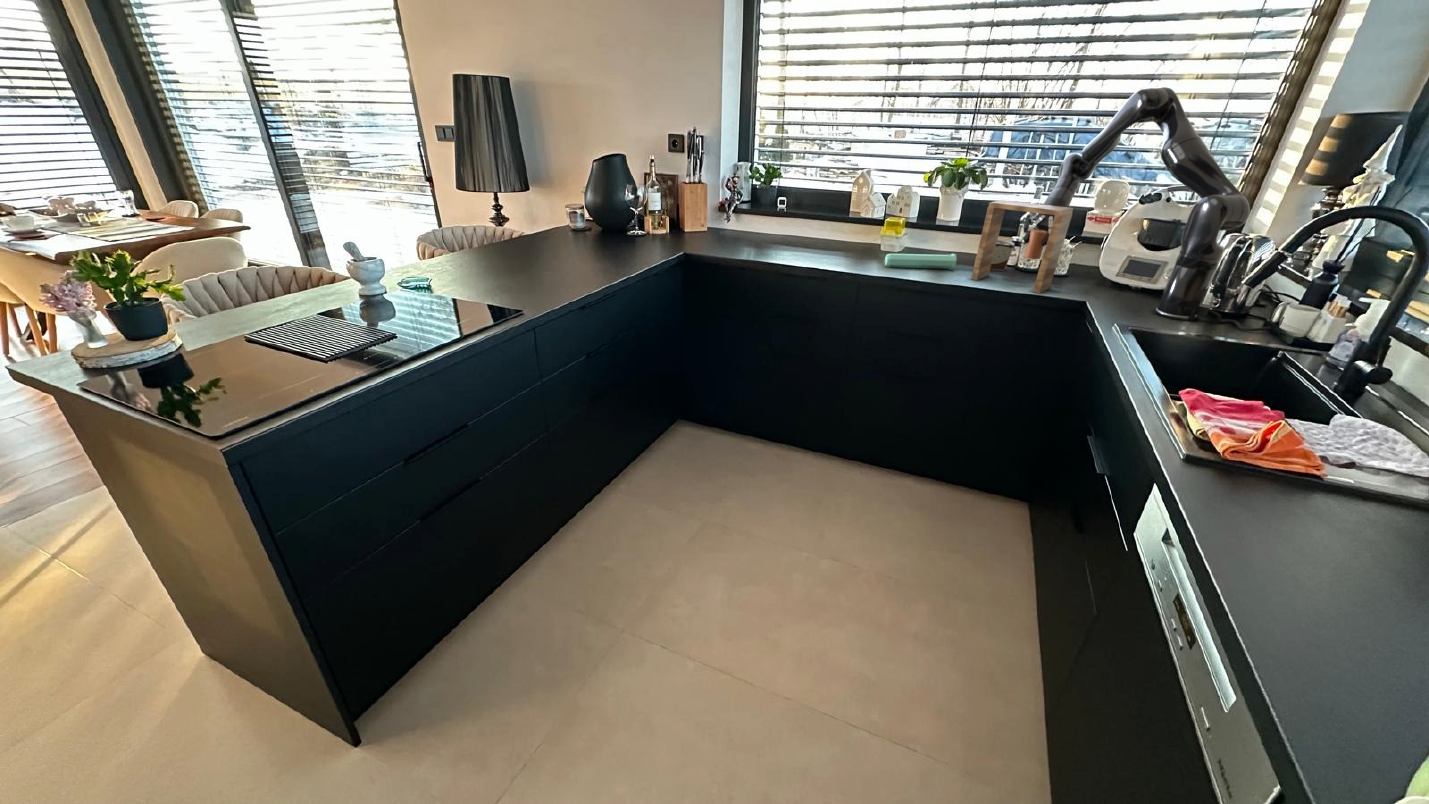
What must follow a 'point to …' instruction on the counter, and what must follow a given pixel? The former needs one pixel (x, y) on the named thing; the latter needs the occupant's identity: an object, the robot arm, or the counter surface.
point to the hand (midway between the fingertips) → (1034, 243)
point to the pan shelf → (1052, 247)
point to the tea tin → (1035, 244)
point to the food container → (1002, 255)
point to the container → (921, 261)
